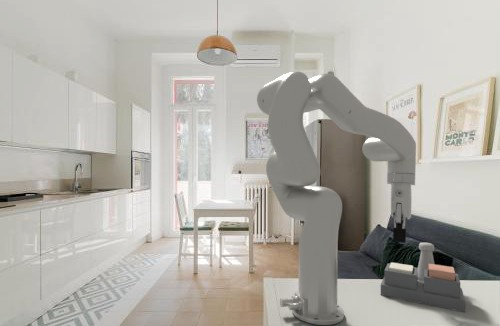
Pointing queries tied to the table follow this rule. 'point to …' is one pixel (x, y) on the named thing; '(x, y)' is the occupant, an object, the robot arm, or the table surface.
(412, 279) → the key panel
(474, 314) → the table surface
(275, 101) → the robot arm
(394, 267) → the ivory key
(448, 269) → the terracotta key
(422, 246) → the salt shaker
